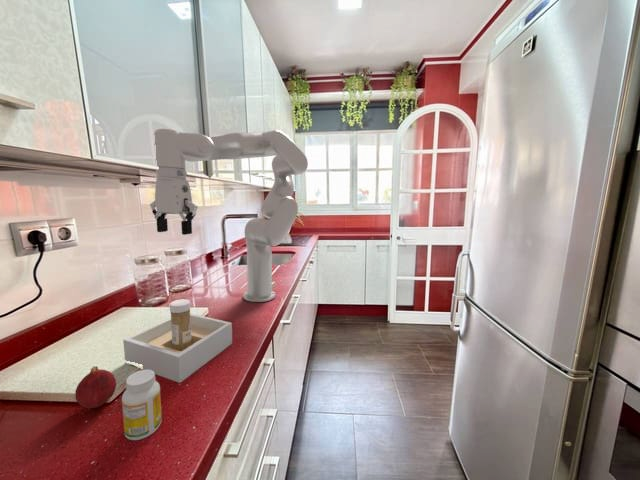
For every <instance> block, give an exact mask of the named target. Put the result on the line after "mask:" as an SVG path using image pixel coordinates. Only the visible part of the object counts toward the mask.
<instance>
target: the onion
mask: <svg viewBox="0 0 640 480" xmlns="http://www.w3.org/2000/svg"><path fill="white" fill-rule="evenodd" d="M116 388H117V380H116V377H115V375H114V374H113V372H111V371H109V370H107V369H99V367H98V366H96V365H94V366H92V367H91V368H90V372H89V373H87V374H86V375H85V376H84V377H83V378H82V379H80V381H79V383H78V384H77V386H76V388H75V395H74V396H75V400H76V402H77V404H79V405H80V406H82V407H83V408H88V409H96V408H100V407H101V406H102V405H104V404H105V403H107V402H108V401H109V400H110V399H111V398H112V397H113V395H114V393H115V391H116Z"/></svg>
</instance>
